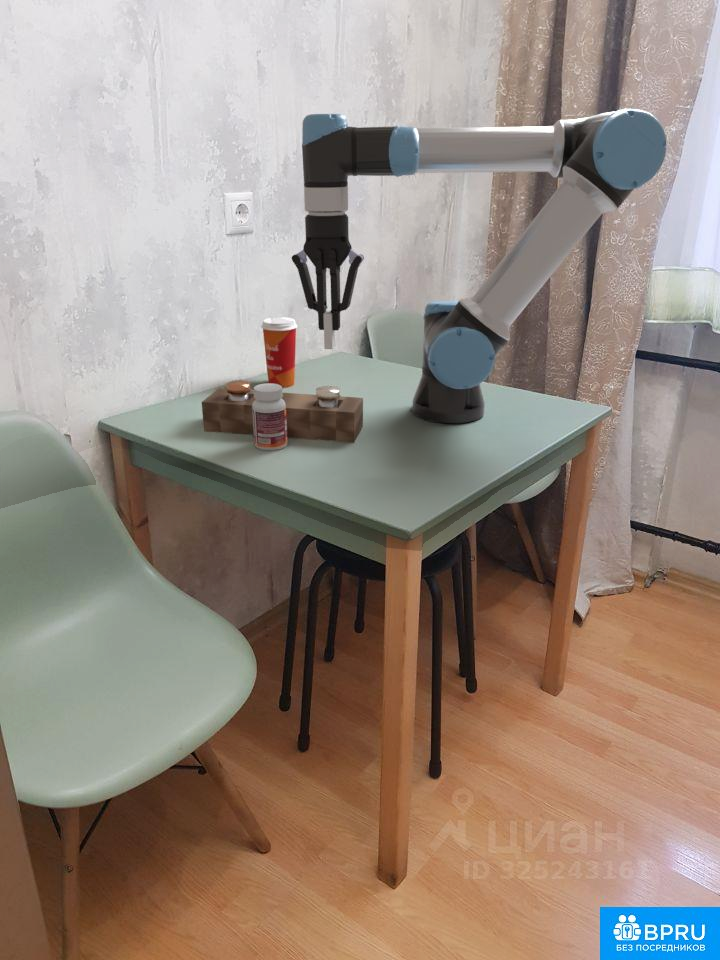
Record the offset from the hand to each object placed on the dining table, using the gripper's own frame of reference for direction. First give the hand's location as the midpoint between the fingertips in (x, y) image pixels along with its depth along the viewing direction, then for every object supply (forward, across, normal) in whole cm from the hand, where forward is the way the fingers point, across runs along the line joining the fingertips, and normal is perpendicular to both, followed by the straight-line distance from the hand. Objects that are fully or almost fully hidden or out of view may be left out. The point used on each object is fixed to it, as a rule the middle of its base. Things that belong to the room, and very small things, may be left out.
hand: (330, 347), depth 137 cm
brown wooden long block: (+17, +10, 0) cm, 19 cm away
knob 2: (+15, +1, 0) cm, 15 cm away
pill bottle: (+17, +10, +9) cm, 22 cm away
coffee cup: (+17, +19, -29) cm, 38 cm away
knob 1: (+15, +19, 0) cm, 24 cm away
